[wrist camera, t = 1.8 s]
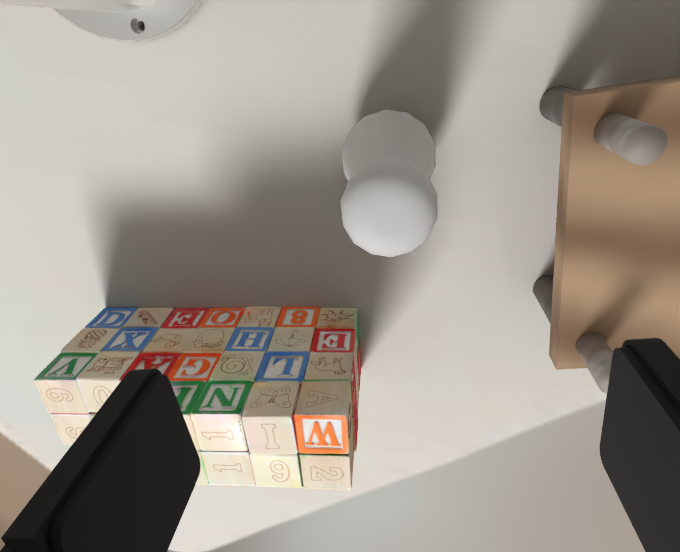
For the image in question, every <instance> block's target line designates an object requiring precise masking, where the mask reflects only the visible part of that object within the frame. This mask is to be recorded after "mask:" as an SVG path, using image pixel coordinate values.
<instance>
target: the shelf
mask: <svg viewBox="0 0 680 552" xmlns="http://www.w3.org/2000/svg"><path fill="white" fill-rule="evenodd" d="M540 112H541V114H542V115H543V116H544V117H545V118H546V119H548V120H550V121H552V122H553V123H555V124H557V125H559V126H560V127H562V133H561V151H560V169H559V186H558V204H557V222H556V240H555V258H554V276H544V277H542V278H540V279H539V280H537V281H536V283H535V284H534V287H533V292H534V294H535V296H536V298H537V300H538V302H539V303H540V305H541V307H542V309H543V311H544V312H545V314H546V316H547V318H548V320H549V322H550V323H551V330H550V348H549V356H550V358H551V360H552V362H553V364H554V366H555V368H556V370H557V369H575V368H588V369H589V371H590V373H591V375H592V376H593V378H594V380H595V381H596V383H597V385H598V387H599V388H600V390H601V391H603V392H605V393H607V391H608V384H609V377H610V369H611V362H612V355H613V351H614V349H615V348H621V347H622V344H623V343H624V341H625V340H629V339H645V338H660V339H662V340H663V341H664V342H665V343H666V344H667V345H668V347H669V348H670V349H671V350H672V351H673V352H674V353H675V354H676V356H677V357H678V358H679V359H680V76H678V77H671V78H664V79H657V80H650V81H643V82H636V83H629V84H621V85H614V86H607V87H600V88H593V89H586V90H579V91H576V90H573V89H570V88H567V87H563V86H556V87H553V88H551V89H549V90H548V91H547V92H546V93H545V94H544V95H543V96H542V98H541V101H540Z"/></svg>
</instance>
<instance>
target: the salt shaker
mask: <svg viewBox="0 0 680 552" xmlns="http://www.w3.org/2000/svg"><path fill="white" fill-rule="evenodd" d="M341 154H342V162H343V170H344V174H345V176H346V178H347V180H348V183H347V186H346V188H345V191H344V193H343V196H342V198H341V201H340V204H341V213H342V221H343V226H344V228H345V230H346V231H347V233H348V234H349V236H350V238H351V239H352V241H353V242H354V244H356V245H357V246H359V247H361V248H362V249H364V250H366V251H367V252H369V253H370V254H374V255H380V256H387V257H394V256H398V255H401V254H405V253H409V252H412V251H413V250H414V249H415V248H417V247H418V246H419V245H421V244H422V243H423V242H424V241H426V240H427V239H428V237H429V235H430V233H431V230H432V228H433V226H434V224H435V222H436V219H437V193H436V191H435V189H434V187H433V185H432V184H431V182H430V180H429V179H430V177H431V175H432V173H433V170H434V168H435V166H436V162H435V143H434V141H433V139H432V137H431V135H430V133H429V131H428V129H427V127H426V126H425V125H424V124H423V123H422V122H420V121H419V120H417V119H416V118H415V117H413V116H412V115H410V114H409V113H408V112H401V111H393V110H383V111H379V112H376V113H373V114H370V115H367V116H364V117H363V118H362V119H361V120H360V121H359V122H358V123H357V124H356V125H355V126H354V127H353V128H352V130H351V131H350V132H349V133H348V136H347V139H346V141H345V144H344V146H343V149H342V152H341Z"/></svg>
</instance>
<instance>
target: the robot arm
mask: <svg viewBox="0 0 680 552" xmlns="http://www.w3.org/2000/svg"><path fill="white" fill-rule="evenodd" d="M203 1H204V0H0V5H10V6H25V7H40V8H52V9H54V10H55V11H56V12H57V13H58V14H59V15H60V16H61V17H63V18H64V19H66V20H67V21H69V22H70V23H72V24H74V25H75V26H77V27H78V28H80V29H81V30H84V31H86V32H89V33H91V34H93V35H96V36H98V37H101V38H105V39H110V40H115V41H123V42H136V41H145V40H153V39H156V38H159V37H161V36H164V35H167V34H169V33H171V32H173V31H174V30H176V29H177V28H179V27H180V26H182V25H183V24H185V23H186V22H187V21H188V20H189V19H190V18H191V17H192V16H193V14H194V13H195V12H196V11H197V10H198V9H199V8H200V6H201V4H202V3H203ZM142 22H144V24H145V30H143V29H142V27H141V23H142ZM600 456H601V460H602V463H603V466H604V468H605V470H606V472H607V474H608V476H609V478H610V480H611V482H612V484H613V486H614V488H615V490H616V492H617V494H618V496H619V498H620V500H621V502H622V505H623V507H624V509H625V511H626V513H627V515H628V517H629V519H630V521H631V523H632V525H633V527H634V529H635V531H636V533H637V535H638V537H639V539H640V541H641V543H642V545H643V547H644V549H645V551H646V552H680V359H679V358H678V357H677V356H676V354H675V353H674V352H673V351H672V350H671V349H670V348H669V347H668V345H667V344H666V343H665V342H664V341H663V340H662V339H660V338H645V339H629V340H625V341H624V343H623V344H622V347H621V348H615V349H614V351H613V355H612V362H611V369H610V377H609V384H608V391H607V398H606V405H605V413H604V420H603V427H602V434H601V441H600ZM200 466H201V465H200V458H199V456H198V453H197V450H196V448H195V445H194V443H193V440H192V437H191V435H190V432H189V430H188V427H187V424H186V422H185V419H184V417H183V414H182V411H181V409H180V406H179V404H178V401H177V398H176V396H175V393H174V391H173V388H172V385H171V383H170V380H169V378H168V377H167V376H166V375H164V374H163V375H162V373H161V371H159V370H158V369H155V368H154V369H138V370H131V371H129V372H128V373H127V374H126V375H125V376H124V378H123V379H122V380H121V382H120V383H119V384H118V386H117V387H116V388H115V390H114V391H113V392H112V393H111V395H110V396H109V397H108V399H107V400H106V401H105V403H104V404H103V405H102V407H101V408H100V409H99V410H98V412H97V413H96V414H95V416H94V417H93V418H92V420H91V421H90V422H89V424H88V425H87V426H86V428H85V429H84V430H83V431H82V433H81V434H80V435H79V437H78V438H77V439H76V441H75V442H74V443H73V445H72V446H71V447H70V449H69V450H68V451H67V452H66V454H65V455H64V456H63V458H62V459H61V460H60V462H59V463H58V464H57V466H56V467H55V468H54V469H53V471H52V472H51V473H50V475H49V476H48V477H47V479H46V480H45V481H44V483H43V484H42V486H41V487H40V488H39V489H38V490H37V492H36V493H35V494H34V496H33V497H32V498H31V500H30V501H29V502H28V504H27V505H26V506H25V508H24V509H23V510H22V512H21V513H20V514H19V515H18V517H17V518H16V519H15V521H14V522H13V523H12V525H11V526H10V527H9V528H8V530H7V531H6V533H5V534H4V535H3V536H2V538H1V539H2V540H3V542H4V543H5V546H4V547H3V548H2V550H1V551H0V552H167V550H168V547H169V545H170V543H171V540H172V538H173V536H174V533H175V531H176V529H177V526H178V524H179V522H180V519H181V517H182V515H183V512H184V510H185V508H186V505H187V503H188V500H189V498H190V496H191V493H192V491H193V489H194V486H195V484H196V482H197V479H198V477H199V474H200Z"/></svg>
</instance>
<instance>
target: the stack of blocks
mask: <svg viewBox="0 0 680 552" xmlns="http://www.w3.org/2000/svg"><path fill="white" fill-rule="evenodd" d="M154 368H155V369H158V370H159V371H161V373H162V375H163V374H164V375H166V376H167V377H168V378H169V380H170V383H171V385H172V388H173V391H174V393H175V396H176V398H177V401H178V404H179V406H180V409H181V411H182V414H183V417H184V419H185V422H186V424H187V427H188V430H189V432H190V435H191V437H192V440H193V443H194V445H195V448H196V450H197V453H198V456H199V458H200V465H201V466H200V474H199V477H198V479H197V482H196V484H195V485H209V484H211V485H230V486H253V485H256V486H262V487H296V488H300V487H304V488H307V489H329V490H351V488H352V473H353V458H354V452H356V445H357V431H358V402H359V388H360V374H361V362H360V341H359V328H358V308H320V307H275V306H249V307H246V308H240V307H239V308H210V309H208V308H177V309H174V308H172V307H141V308H134V307H130V308H128V307H124V308H104V309H103V310H102V311H101V312H100V313H99V314H98V315H97V316H96V317H95V318H94V319H93V320H92V321H91V322H90V323H89V324H88V325H87V326H86V327H85V328H84V329H82V330H81V331H80V332H79V333H78V334H77V335H76V336H75V337H74V338H73V339H72V340H71V341H70V342H69V343H68V344H67V345H66V346H65V347H64V348H63V349H62V350H61V353H60V354H59V355H58V356H57V357H56V358H55V359H54V360H53V361H52V362H51V363H50V364H49V365H48V366H47V367H46V368H45V369H44V370H43V371H42V372H41V373H40V374H39V375H38V376H37V377H36V378H35V379H34V381H35V383H36V385H37V388H38V390H39V392H40V394H41V397H42V399H43V401H44V404H45V406H46V408H47V411H48V412H49V413H51V417H52V420H53V422H54V424H55V427H56V429H57V431H58V433H59V436H60V438H61V440H62V442H63V444H64V445H73V443H74V442H75V441H76V439H77V438H78V437H79V435H80V434H81V433H82V431H83V430H84V429H85V428H86V426H87V425H88V424H89V422H90V421H91V420H92V418H93V417H94V416H95V414H96V413H97V412H98V410H99V409H100V408H101V407H102V405H103V404H104V403H105V401H106V400H107V399H108V397H109V396H110V395H111V393H112V392H113V391H114V390H115V388H116V387H117V386H118V384H119V383H120V382H121V380H122V379H123V378H124V376H125V375H126V374H127V373H128V372H129V371H131V370H138V369H154Z"/></svg>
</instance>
